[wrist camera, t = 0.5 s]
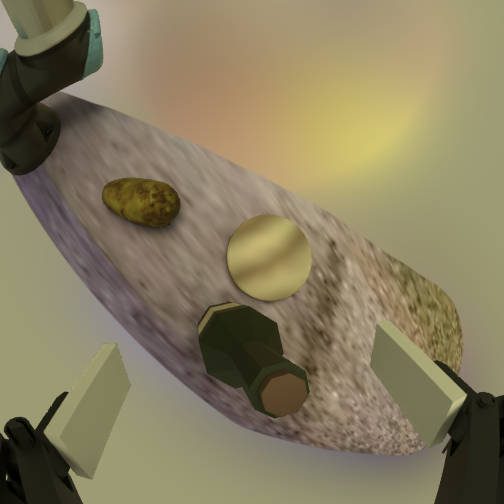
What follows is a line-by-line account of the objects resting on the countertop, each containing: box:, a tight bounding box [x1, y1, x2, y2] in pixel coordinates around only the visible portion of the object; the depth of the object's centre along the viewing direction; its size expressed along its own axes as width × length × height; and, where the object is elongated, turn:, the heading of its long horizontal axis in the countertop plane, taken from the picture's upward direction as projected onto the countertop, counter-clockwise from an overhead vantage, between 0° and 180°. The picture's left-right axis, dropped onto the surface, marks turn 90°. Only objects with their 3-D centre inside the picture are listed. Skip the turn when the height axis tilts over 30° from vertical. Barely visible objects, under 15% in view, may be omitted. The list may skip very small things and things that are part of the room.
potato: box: [102, 178, 180, 227], centre depth 38 cm, size 8×13×8 cm, turn 53°
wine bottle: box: [198, 302, 309, 418], centre depth 27 cm, size 8×8×30 cm
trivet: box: [227, 215, 312, 301], centre depth 43 cm, size 13×13×3 cm
